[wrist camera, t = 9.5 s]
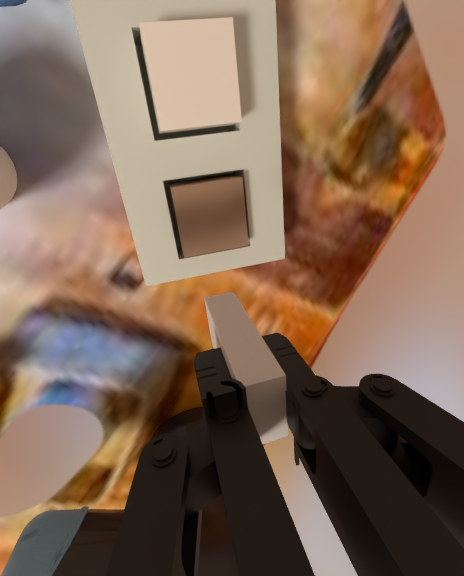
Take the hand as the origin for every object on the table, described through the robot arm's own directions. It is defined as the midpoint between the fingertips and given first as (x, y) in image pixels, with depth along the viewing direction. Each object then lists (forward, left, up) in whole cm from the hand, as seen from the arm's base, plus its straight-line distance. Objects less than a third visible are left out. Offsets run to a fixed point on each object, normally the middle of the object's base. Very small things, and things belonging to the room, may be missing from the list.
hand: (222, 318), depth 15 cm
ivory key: (+12, -2, -15) cm, 20 cm away
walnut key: (+2, -2, -17) cm, 17 cm away
